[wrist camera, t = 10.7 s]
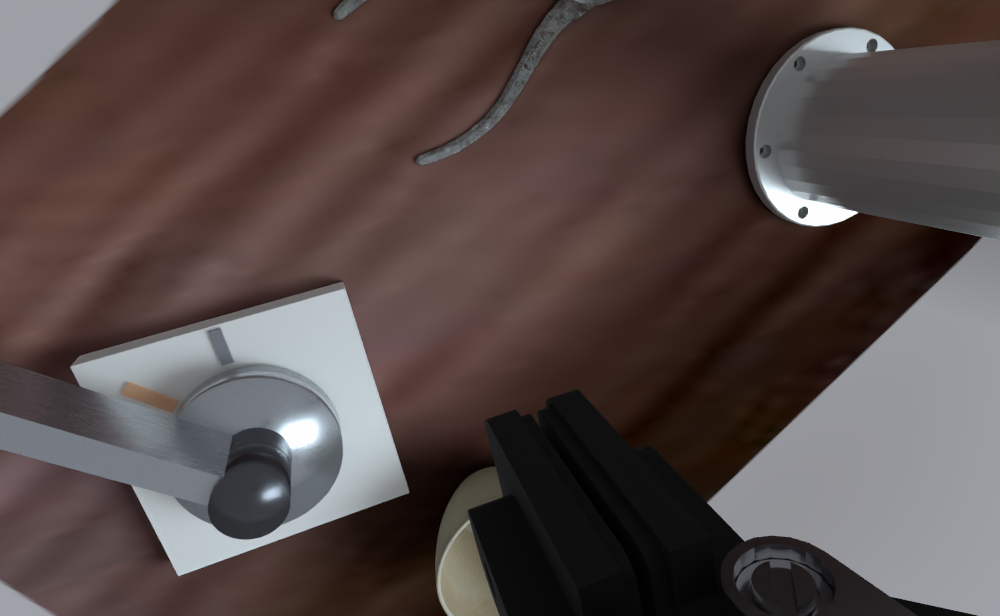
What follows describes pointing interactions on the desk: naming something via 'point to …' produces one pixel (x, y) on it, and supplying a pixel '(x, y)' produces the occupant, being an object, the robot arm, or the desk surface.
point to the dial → (189, 442)
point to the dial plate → (249, 342)
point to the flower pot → (465, 549)
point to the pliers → (565, 11)
